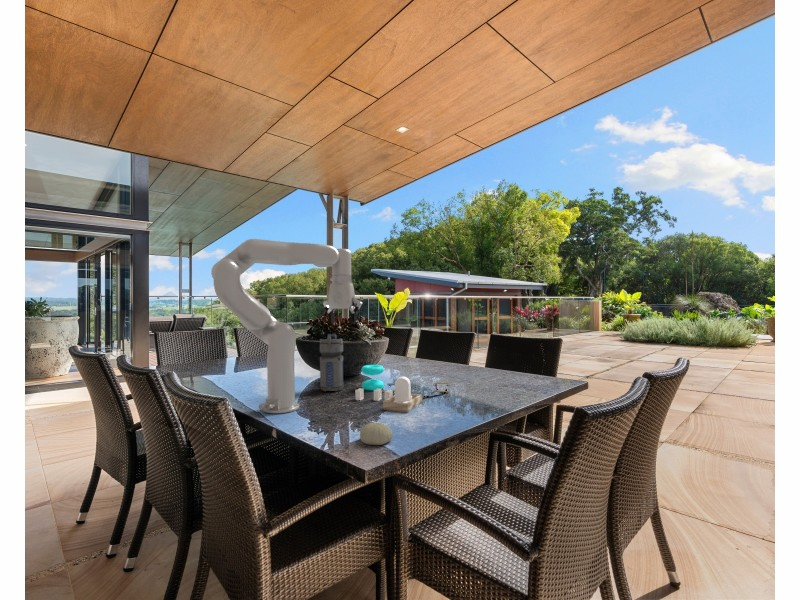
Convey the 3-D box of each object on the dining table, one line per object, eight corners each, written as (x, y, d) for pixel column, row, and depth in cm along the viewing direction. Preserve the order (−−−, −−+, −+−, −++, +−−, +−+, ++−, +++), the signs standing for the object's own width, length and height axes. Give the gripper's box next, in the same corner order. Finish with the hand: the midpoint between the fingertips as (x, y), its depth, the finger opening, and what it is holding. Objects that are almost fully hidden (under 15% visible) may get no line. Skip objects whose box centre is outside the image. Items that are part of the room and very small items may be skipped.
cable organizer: (412, 401, 154) (412, 375, 154) (407, 408, 144) (406, 380, 144) (398, 400, 155) (398, 374, 155) (392, 407, 145) (392, 379, 145)
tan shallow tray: (407, 412, 141) (407, 403, 141) (383, 409, 145) (382, 401, 145) (422, 402, 154) (422, 394, 154) (399, 400, 158) (399, 392, 158)
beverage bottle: (346, 386, 185) (345, 331, 185) (341, 392, 172) (340, 334, 172) (324, 386, 185) (323, 331, 185) (317, 393, 172) (316, 334, 172)
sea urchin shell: (382, 426, 120) (390, 412, 115) (390, 451, 116) (400, 437, 111) (353, 431, 116) (360, 416, 111) (361, 457, 111) (369, 443, 106)
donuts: (360, 364, 184) (382, 363, 185) (361, 386, 184) (383, 385, 185) (361, 368, 174) (384, 367, 175) (362, 391, 174) (385, 390, 176)
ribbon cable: (450, 401, 156) (449, 384, 186) (450, 399, 156) (449, 382, 186) (376, 401, 159) (386, 384, 189) (376, 399, 159) (386, 382, 189)
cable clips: (387, 403, 154) (387, 392, 154) (355, 400, 159) (355, 389, 159) (393, 400, 158) (393, 390, 158) (361, 397, 164) (361, 387, 164)
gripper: (318, 280, 160) (318, 323, 160) (356, 279, 153) (356, 324, 153) (328, 281, 167) (329, 322, 167) (365, 280, 160) (366, 323, 160)
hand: (342, 323), depth 160 cm, fingers open, 9 cm apart
